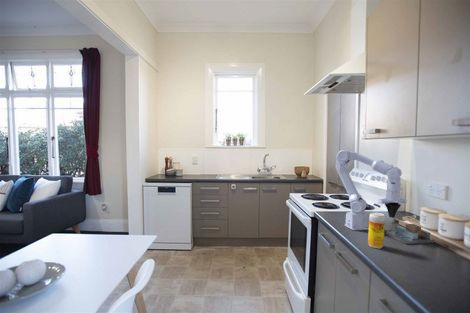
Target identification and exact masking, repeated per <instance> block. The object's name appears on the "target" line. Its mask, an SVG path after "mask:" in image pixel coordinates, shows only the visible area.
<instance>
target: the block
mask: <svg viewBox="0 0 470 313" xmlns="http://www.w3.org/2000/svg"><path fill="white" fill-rule="evenodd" d="M405 228H407V229H409V230H411V231H414V232H416V233H418V237H421V229H422V226H421V225H418V224H415V223H405Z"/></svg>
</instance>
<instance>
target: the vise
mask: <svg viewBox="0 0 470 313" xmlns="http://www.w3.org/2000/svg"><path fill="white" fill-rule="evenodd" d="M385 236H388V237H390V238H392V239H394V240H396V241H397V242H400V243H402V244H404V245H415V244H417V245H418V244H432V243H433V244H435V239H434V238H433V237H432V238H431V232H429V231H427V230H424V229H422V228H421V237H418V239H415V240H413V239H411V238H408V237H406V236H404V235H402V234H400V233H397V232H396V230H395V231H394V230H393V231H392V230H391V231H385Z"/></svg>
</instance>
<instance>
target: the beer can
mask: <svg viewBox="0 0 470 313" xmlns="http://www.w3.org/2000/svg"><path fill="white" fill-rule="evenodd" d="M368 221H369V222H368V235H367V244H368V245H369V247H371V248H373V249H382V248H383V247H384V242H385V239H384V238H385V223H386V217H385V214H384V213H381V212H377V211H376V212H374V211H372V212H370V213H369V219H368Z"/></svg>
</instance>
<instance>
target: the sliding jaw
mask: <svg viewBox="0 0 470 313" xmlns="http://www.w3.org/2000/svg"><path fill="white" fill-rule="evenodd" d="M395 231H396V232H397V233H400V234H402V235H404V236H406V237H408V238H411V239H413V240H415V239H418V233H416V232H414V231H411V230H409V229H407V228H406V227H404V226H401V225H396V226H395Z"/></svg>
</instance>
